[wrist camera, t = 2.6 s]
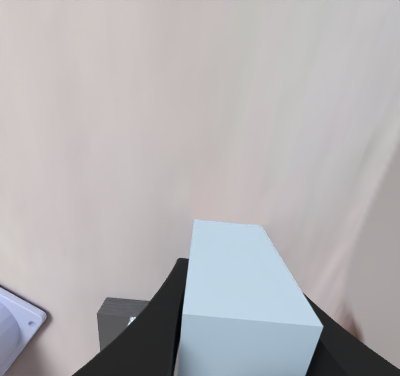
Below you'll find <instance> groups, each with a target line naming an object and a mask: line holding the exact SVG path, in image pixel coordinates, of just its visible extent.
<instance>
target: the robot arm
mask: <svg viewBox="0 0 400 376" xmlns="http://www.w3.org/2000/svg"><path fill="white" fill-rule="evenodd" d="M188 265H189V259H186V258H179V259H177V262H176V264H175V266H174V268H173V269H172V271H171V273H170V274H169V276H168V277H167V279H166V280H165V282H164V283H163V285H162V286H161V288H160V289H159V290H158V292H157V293H156V294H155V296H154V297H153V298H152V300H151V301H150V302H149V303H148V304H147V306H146V307H145V308H144V309H143V310H142V311H141V312H140V314H139V315H138V316H137V317H136V318H135V319H134V320H133V321H132V322H131V323H130V324H129V325H128V326H127V327H126V328H125V329H124V330H123V331H122V332H121V333H120V334H119V335H118V336H117V337H116V338H115V339H114V340H113V341H112V342H111V343H110V344H108V345H107V346H106V347H105V348H104V349H103V350H102V351H101V352H99V353H98V354H97V355H96V356H95V357H94V358H93V359H92V360H90V361H89V362H88V363H87V364H86V365H84V366H83V367H82V368H81V369H79V370H78V371H77V372H76V373H74V374H73V375H72V376H174V371H175V364H176V358H177V353H178V348H179V343H180V338H181V325H182V313H183V305H184V297H185V289H186V281H187V273H188ZM302 293H303V292H302ZM303 294H304V293H303ZM304 296H305V298H306V299H307V301H308V302H309V304H310V306H311V307H312V309H313V311H314V312H315V314H316V315H317V317H318V319H319V320H320V322H321V324H322V325H323V329H322V332H321V334H320V337H319V340H318V343H317V345H316V348H315V351H314V353H313V356H312V359H311V361H310V364H309V367H308V369H307V372H306V375H305V376H400V369H398V368H397V367H395V366H394V365H392V364H391V363H390V362H388V361H387V360H385V359H384V358H382V357H381V356H380V355H378V354H377V353H375V352H374V351H373V350H371V349H370V348H368V347H367V346H366V345H364V344H363V343H362V342H360V341H359V340H358V339H357V338H355V337H354V336H353V335H351V334H350V333H349V332H348V331H346V330H345V329H344V328H342V327H341V326H340V325H339V324H338V323H336V322H335V321H334V320H333V319H332V318H330V317H329V316H328V315H327V314H326V313H325V312H324V311H322V310H321V309H320V308H319V307H318V306H317V305H316V304H315V303H313V302H312V301H311V300H310V299H309V298H308V297H307V296H306V295H305V294H304ZM46 318H47V316H46V313H45V312H44V311H42V310H40V309H39V308H37V307H35V306H33V305H31V304H30V303H28V302H26V301H24V300H22V299H21V298H19V297H17V296H15V295H13V294H12V293H10V292H8V291H6V290H4V289H2V288H1V287H0V376H3V375H4V374H5V372H6V371H7V370H8V368H9V367H10V366H11V364H12V363H13V362H14V361H15V359H16V358H17V357H18V355H19V354H20V353H21V351H22V350H23V349H24V347H25V346H26V345H27V343H28V342H29V341H30V339H31V338H32V337H33V335H34V334H35V333H36V331H37V330H38V329H39V327H40V326H41V325H42V323H43V322H44V321H45V320H46Z"/></svg>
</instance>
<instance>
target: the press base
mask: <svg viewBox="0 0 400 376" xmlns="http://www.w3.org/2000/svg"><path fill="white" fill-rule="evenodd" d="M149 302H150V301H139V300H128V299H117V298H106V300H105V301H104V303H103V305H102V306H101V308H100V310H99V311H98V313H97V319H98V330H99V341H100V352H101V351H102V350H103V349H104V348H105V347H106V346H107V345H108V344H110V343H111V342H112V341H113V340H114V339H115V338H116V337H117V336H118V335H119V334H120V333H121V332H122V331H123V330H124V329H125V328H126V327H127V326H128V325H129V324H130V323H131V322H132V321H133V320H134V319H135V318H136V317H137V316H138V315H139V314H140V312H141V311H142V310H143V309H144V308H145V307H146V306H147V304H148V303H149ZM179 350H180V343H179V348H178V353H177V358H176V364H175V371H174V376H177V375H178V363H179Z"/></svg>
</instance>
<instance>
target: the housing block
mask: <svg viewBox="0 0 400 376" xmlns="http://www.w3.org/2000/svg"><path fill="white" fill-rule="evenodd" d="M322 329H323V325H322V324H321V322H320V320H319V319H318V317H317V315H316V314H315V312H314V311H313V309H312V307H311V306H310V304H309V302H308V301H307V299H306V298H305V296H304V294H303V293H302V291H301V289H300V288H299V286H298V285H297V283H296V281H295V280H294V278H293V276H292V275H291V273H290V272H289V270H288V268H287V267H286V265H285V263H284V262H283V260H282V258H281V257H280V255H279V254H278V252H277V250H276V249H275V247H274V245H273V244H272V242H271V241H270V239H269V237H268V236H267V234H266V232H265V231H264V229H263V228H262V226H261V225H250V224H239V223H228V222H217V221H206V220H195V219H194V224H193V232H192V240H191V249H190V257H189V265H188V273H187V281H186V289H185V297H184V305H183V313H182V325H181V338H180V350H179V363H178V375H177V376H305V375H306V372H307V369H308V367H309V364H310V361H311V359H312V356H313V353H314V351H315V348H316V345H317V343H318V340H319V337H320V334H321V332H322Z"/></svg>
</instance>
